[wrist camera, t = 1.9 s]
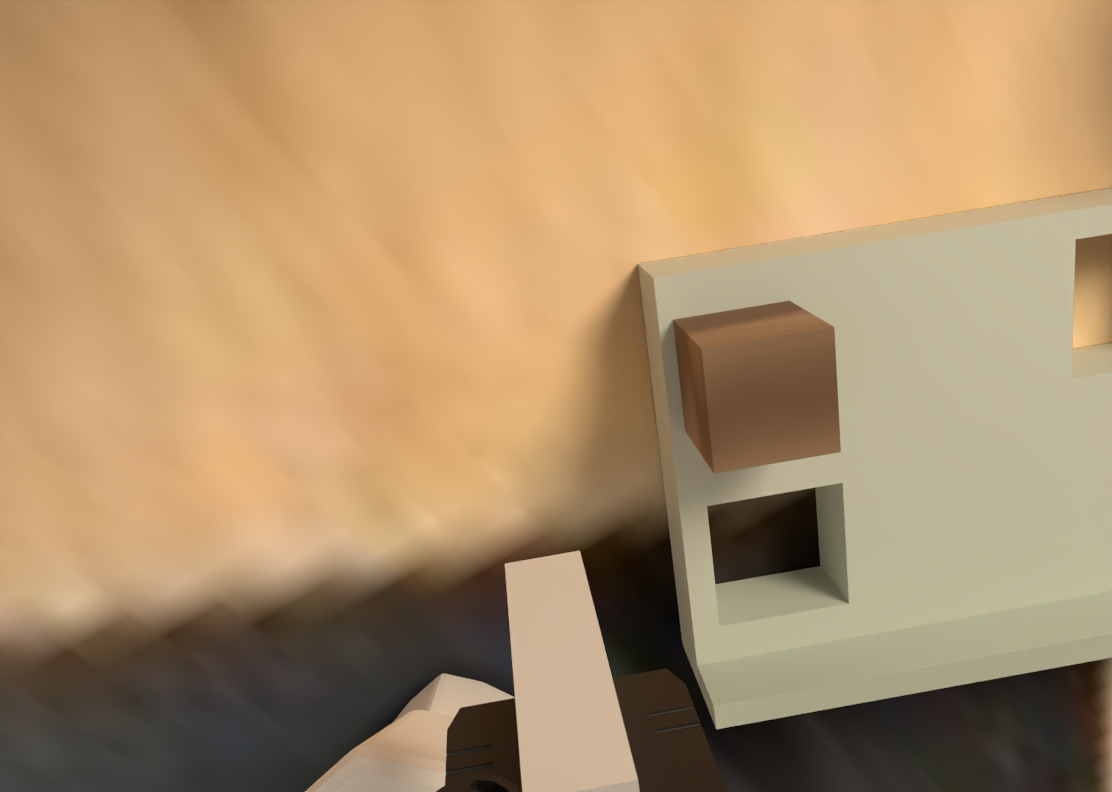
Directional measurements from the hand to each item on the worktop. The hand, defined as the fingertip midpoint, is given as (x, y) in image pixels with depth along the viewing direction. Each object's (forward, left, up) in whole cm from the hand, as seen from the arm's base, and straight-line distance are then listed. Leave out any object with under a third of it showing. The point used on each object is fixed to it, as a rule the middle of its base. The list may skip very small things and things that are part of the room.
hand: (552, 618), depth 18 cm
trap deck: (+4, +19, -17) cm, 25 cm away
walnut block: (0, +8, -14) cm, 16 cm away
